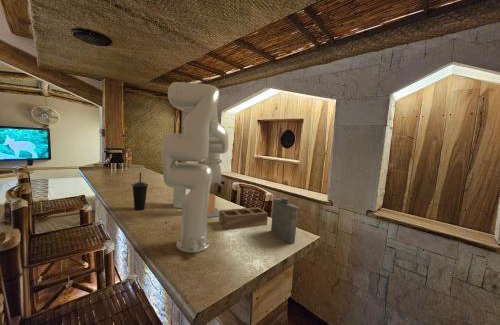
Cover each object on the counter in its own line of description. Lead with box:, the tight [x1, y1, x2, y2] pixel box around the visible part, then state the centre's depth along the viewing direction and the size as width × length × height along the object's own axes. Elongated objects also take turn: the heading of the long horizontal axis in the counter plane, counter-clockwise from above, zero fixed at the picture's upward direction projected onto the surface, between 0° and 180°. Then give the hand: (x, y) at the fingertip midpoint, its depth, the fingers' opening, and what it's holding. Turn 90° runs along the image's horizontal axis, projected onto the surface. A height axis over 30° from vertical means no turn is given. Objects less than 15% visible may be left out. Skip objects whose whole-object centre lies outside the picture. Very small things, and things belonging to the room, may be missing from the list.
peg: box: [208, 193, 216, 214], centre depth 120 cm, size 4×4×10 cm
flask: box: [270, 196, 299, 245], centre depth 98 cm, size 4×14×18 cm, turn 34°
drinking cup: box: [131, 172, 149, 212], centre depth 118 cm, size 8×8×20 cm
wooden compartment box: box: [218, 206, 269, 231], centre depth 110 cm, size 10×22×6 cm, turn 117°
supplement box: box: [172, 188, 190, 209], centre depth 129 cm, size 7×7×13 cm
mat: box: [207, 207, 220, 219], centre depth 121 cm, size 12×12×1 cm
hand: (210, 193), depth 119 cm, fingers open, 9 cm apart
